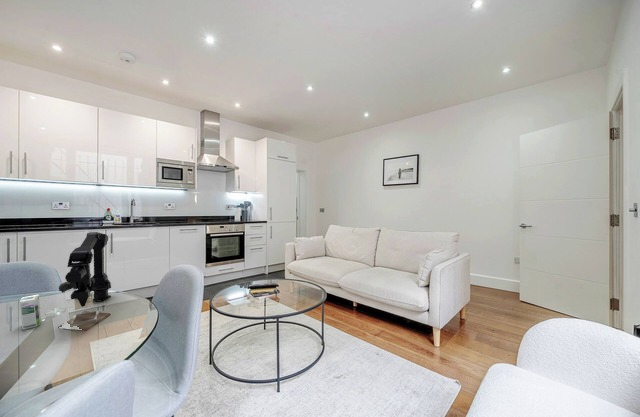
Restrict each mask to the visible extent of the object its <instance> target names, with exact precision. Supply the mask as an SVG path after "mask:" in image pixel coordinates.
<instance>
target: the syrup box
mask: <svg viewBox="0 0 640 417" xmlns="http://www.w3.org/2000/svg"><path fill="white" fill-rule="evenodd" d="M39 294H40V293H39ZM39 294H34V295H29V296H23V297H21V298H20V301H19V309H20V316H21V325H22V330H24V331H25V330H27V329H28V330H29V329H31V328H36V327H40V325H41V323H42V315H41V306H40V305H41V304H40V295H39Z"/></svg>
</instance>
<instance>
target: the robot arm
mask: <svg viewBox="0 0 640 417" xmlns="http://www.w3.org/2000/svg"><path fill="white" fill-rule="evenodd" d="M108 242H109V235H107V234H106V233H102V232H98V231H96V232H95V231H89V232H87V233H86V237H85V238H84V240H83V241H82V243H80V246H78V247H75V248H74V249H73V250H72V251H71V252H70V254H69V258H68V261H67V262H68V263H67V268H70V271H69V272H67V273H66V275H65V282H62V283H61V284H59V286H58V291H59V292H61V293H62V294H63V293H65V292H67V291H70V290H72V289H73V291H72V292H71V294H70V300H75V299H78V301H79V302H80V304H81V306H82V307H83V306H85V304H86V301H87V299H88V297H89V294H90V293H92V292H93V302H104V301H105V300H107V299H109V298H110V297H111V295H110V294H109V290H110V289H111V288H112V283H111V281H110V280H109V276H108V275H107V274H106V273H105V248H106V246H107V245H108ZM92 251H93V252H92ZM92 261H93V275H92V273H91V267H90V265H91V263H92Z"/></svg>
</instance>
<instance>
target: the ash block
mask: <svg viewBox="0 0 640 417" xmlns="http://www.w3.org/2000/svg"><path fill="white" fill-rule="evenodd" d="M93 294H94V291H91V292H90V294H89V297H88V299H87V301H86V304H85V306H83V307H82V306H81V304H80V302H79V301H78V299H73V300H74V310H80V309H87V308H92V306H93V303H94V301H93V299H94V295H93Z"/></svg>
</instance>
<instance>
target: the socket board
mask: <svg viewBox="0 0 640 417" xmlns="http://www.w3.org/2000/svg"><path fill="white" fill-rule="evenodd" d="M110 316H111V313H109V312H101V311H100V310H99V309H98V310H93V311H85V310H83V312H81V313H75V314H74V315H73V317H72V318H70V319H69V320H67V321H66V322H67V323H68V324H70V327H73V326H77V327H79V329H82V330H84V331H83V332H87V331H88V330H90V329H91V328H93V327H95V326H96V325H97V324H99V323H100V322H102V321H104V320H106V318H108V317H110ZM59 327H62V324H60V325H59V326H57V329H58V328H59Z"/></svg>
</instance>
